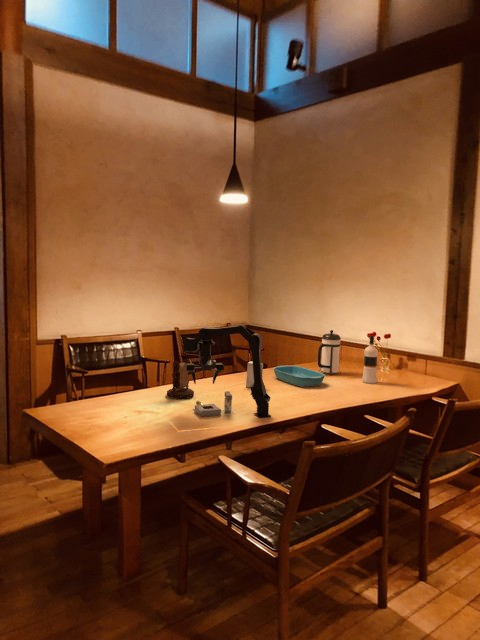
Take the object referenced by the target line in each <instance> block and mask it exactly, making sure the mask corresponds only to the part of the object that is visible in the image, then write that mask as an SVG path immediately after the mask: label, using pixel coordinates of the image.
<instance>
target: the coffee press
mask: <svg viewBox="0 0 480 640" xmlns="http://www.w3.org/2000/svg"><path fill="white" fill-rule="evenodd" d="M329 332H330V333H324V334H323V335H322V336H321V344H320V345H319V347H318V350H317V353H318V354H317V366H318V368H319V370H318V372H320V373H326V374H329V376H333V374H336V373H337V374H338V375H341V371H340V358H341V357H340V356H341V341H342V338H341V336H340V335H339V334H338V333H337V334H336V333H334V330H332V329H331V330H330V331H329ZM338 372H339V373H338Z"/></svg>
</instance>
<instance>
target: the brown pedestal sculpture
mask: <svg viewBox="0 0 480 640" xmlns="http://www.w3.org/2000/svg"><path fill="white" fill-rule="evenodd" d="M186 363H190V361H188V359H183V360H182V362H179V361H177V360H174V361H173V363H172V374H171V376H172V382H171V385H172V388H169V389H168V390H167V391H166V396H168V397H174V398H178V400H181V398H188V397H194V396H195V391H194V390H192V389H191V388H189V387H190V386H189V383H190V380H189V379H190V378H189V374H190V372H188V371H186V369H185V364H186ZM178 376H179V378H177V377H178Z"/></svg>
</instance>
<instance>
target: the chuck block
mask: <svg viewBox="0 0 480 640" xmlns="http://www.w3.org/2000/svg"><path fill="white" fill-rule="evenodd" d="M221 410H222V409H221V408H220V407H218V406H217V405H216V404H214V403H211V404H204V403H203V402H201V400H197V401H196V402H195V405H194V408H192V411H193V412H194V413H195V414H197V415H198V416H199V417H200V418H210V417H220V416H222V412H221Z"/></svg>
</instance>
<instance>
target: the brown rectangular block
mask: <svg viewBox="0 0 480 640" xmlns="http://www.w3.org/2000/svg"><path fill="white" fill-rule="evenodd" d="M232 400H233V395H232V394H231V392H230V391H224V402H223V404H224V408H223V410H224V413H231V411H232V409H233V407H232V404H233V403H232V402H233V401H232Z"/></svg>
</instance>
